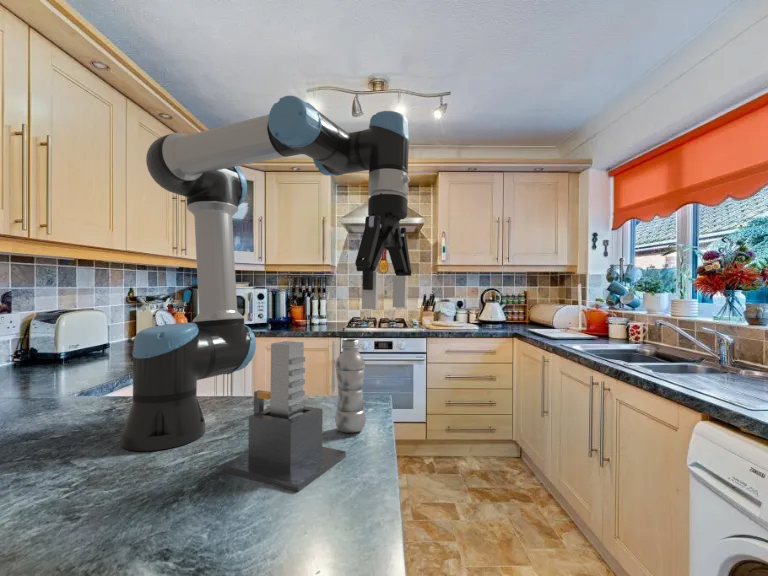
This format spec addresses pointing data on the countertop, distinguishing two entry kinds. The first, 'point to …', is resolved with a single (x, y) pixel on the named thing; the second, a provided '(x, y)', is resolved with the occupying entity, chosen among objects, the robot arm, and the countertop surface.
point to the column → (287, 379)
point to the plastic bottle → (350, 388)
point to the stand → (284, 448)
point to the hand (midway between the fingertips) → (385, 308)
